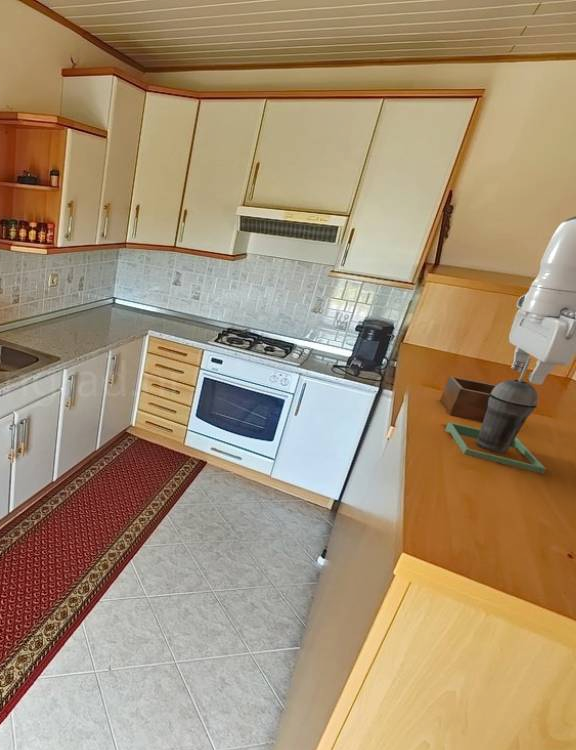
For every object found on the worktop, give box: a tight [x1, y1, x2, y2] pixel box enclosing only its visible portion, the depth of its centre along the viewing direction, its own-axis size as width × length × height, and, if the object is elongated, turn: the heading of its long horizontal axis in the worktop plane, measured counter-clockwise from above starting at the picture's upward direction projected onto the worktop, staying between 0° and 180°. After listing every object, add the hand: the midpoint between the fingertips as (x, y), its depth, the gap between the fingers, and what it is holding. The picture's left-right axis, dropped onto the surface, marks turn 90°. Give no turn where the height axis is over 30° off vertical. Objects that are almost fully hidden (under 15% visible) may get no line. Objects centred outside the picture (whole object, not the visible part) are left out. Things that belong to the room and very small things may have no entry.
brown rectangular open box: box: [439, 375, 498, 423], centre depth 123 cm, size 13×13×7 cm
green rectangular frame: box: [444, 421, 547, 475], centre depth 100 cm, size 12×16×2 cm
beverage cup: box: [476, 357, 539, 455], centre depth 96 cm, size 7×7×20 cm
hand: (525, 376), depth 94 cm, fingers open, 8 cm apart
